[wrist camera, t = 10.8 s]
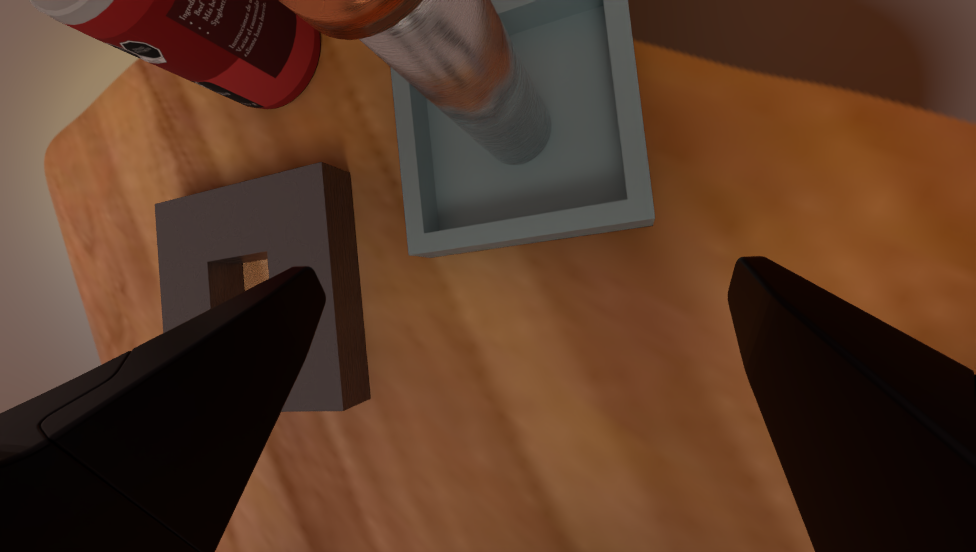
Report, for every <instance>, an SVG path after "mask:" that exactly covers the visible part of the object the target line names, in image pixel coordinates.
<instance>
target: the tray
mask: <svg viewBox="0 0 976 552" xmlns="http://www.w3.org/2000/svg"><path fill="white" fill-rule="evenodd" d="M491 2H492V4H493V6H494V8H495V10H496V12H497V14H498V16H499V17H500V19H501V21H502V23H503V25H504V27H505V29H506V31H507V33H508V35H509V37H510V39H511V41H512V43H513V45H514V47H515V49H516V51H517V52H518V54H519V56H520V58H521V60H522V62H523V64H524V66H525V68H526V70H527V72H528V74H529V76H530V78H531V80H532V82H533V84H534V86H535V87H536V89H537V91H538V93H539V95H540V97H541V99H542V101H543V103H544V105H545V107H546V109H547V111H548V113H549V115H550V119H551V134H550V138H549V140H548V143H547V144H546V146H545V148H544V149H543V151H542V152H541V153H540V154H539V155H538V156H537V157H535V158H534V159H532V160H531V161H529V162H526V163H523V164H519V165H510V164H505V163H502V162H500V161H499V160H497V159H496V158H495V157H493V156H492V155H491V154H490V153H489V152H488V151H487V150H485V149H484V148H483V147H482V146H481V145H480V144H479V143H477V142H476V141H475V140H474V139H473V138H472V137H471V136H469V135H468V134H467V133H466V132H465V131H464V130H462V129H461V128H460V127H459V126H458V125H457V124H456V123H454V122H453V121H452V120H451V119H450V118H449V117H448V116H446V115H445V114H444V113H443V112H442V111H441V110H440V109H438V108H437V107H436V106H435V105H434V104H433V103H432V102H430V101H429V100H428V99H427V98H426V97H425V96H424V95H422V94H421V93H420V92H419V91H418V90H417V89H415V88H414V87H413V86H412V85H411V84H410V83H409V82H407V81H406V80H405V79H404V78H403V77H402V76H401V75H399V74H398V73H397V72H396V71H395V70H394V69H393V68H391V77H392V88H393V98H394V108H395V119H396V129H397V139H398V150H399V160H400V170H401V181H402V191H403V201H404V212H405V222H406V232H407V243H408V253H409V255H411V256H420V257H429V258H432V257H439V256H446V255H453V254H460V253H467V252H474V251H481V250H488V249H495V248H501V247H508V246H515V245H522V244H529V243H536V242H543V241H550V240H557V239H564V238H571V237H578V236H585V235H591V234H598V233H605V232H612V231H619V230H626V229H633V228H640V227H647V226H653V223H654V220H655V213H654V205H653V197H652V189H651V181H650V173H649V165H648V157H647V150H646V142H645V134H644V126H643V118H642V110H641V102H640V94H639V86H638V78H637V70H636V62H635V54H634V46H633V38H632V31H631V22H630V14H629V6H628V0H491Z"/></svg>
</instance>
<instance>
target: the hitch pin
mask: <svg viewBox="0 0 976 552" xmlns="http://www.w3.org/2000/svg"><path fill="white" fill-rule="evenodd" d="M279 1H280V2H281V3H283V4H284V5H285V6H286V7H288V8H289V9H290V10H291V11H293V12H294V13H295V14H297V15H298V16H299V17H300V18H302V19H303V20H304V21H305V22H307V23H308V24H309V25H311V26H312V27H313V28H315V29H316V30H318V31H319V32H321V33H323V34H325V35H327V36H329V37H333V38H337V39H345V40H354V39H359V40H360V41H362V42H363V43H364V44H365V45H366V46H367V47H369V48H370V49H371V50H372V51H373V52H374V53H375V54H377V55H378V56H379V57H380V58H381V59H382V60H383V61H385V62H386V63H387V64H388V65H389V66H390V67H391V68H393V69H394V70H395V71H396V72H397V73H398V74H399V75H401V76H402V77H403V78H404V79H405V80H406V81H407V82H409V83H410V84H411V85H412V86H413V87H414V88H415V89H417V90H418V91H419V92H420V93H421V94H422V95H424V96H425V97H426V98H427V99H428V100H429V101H430V102H432V103H433V104H434V105H435V106H436V107H437V108H438V109H440V110H441V111H442V112H443V113H444V114H445V115H446V116H448V117H449V118H450V119H451V120H452V121H453V122H454V123H456V124H457V125H458V126H459V127H460V128H461V129H462V130H464V131H465V132H466V133H467V134H468V135H469V136H471V137H472V138H473V139H474V140H475V141H476V142H477V143H479V144H480V145H481V146H482V147H483V148H484V149H485V150H487V151H488V152H489V153H490V154H491V155H492V156H493V157H495V158H496V159H497V160H499V161H500V162H502V163H505V164H510V165H519V164H523V163H526V162H529V161H531V160H532V159H534V158H535V157H537V156H538V155H539V154H540V153H541V152H542V151H543V149H544V148H545V146H546V144H547V143H548V140H549V138H550V134H551V119H550V115H549V113H548V111H547V109H546V107H545V105H544V103H543V101H542V99H541V97H540V95H539V93H538V91H537V89H536V87H535V86H534V84H533V82H532V80H531V78H530V76H529V74H528V72H527V70H526V68H525V66H524V64H523V62H522V60H521V58H520V56H519V54H518V52H517V51H516V49H515V47H514V45H513V43H512V41H511V39H510V37H509V35H508V33H507V31H506V29H505V27H504V25H503V23H502V21H501V19H500V17H499V16H498V14H497V12H496V10H495V8H494V6H493V4H492V2H491V0H279Z"/></svg>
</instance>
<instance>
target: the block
mask: <svg viewBox="0 0 976 552" xmlns="http://www.w3.org/2000/svg"><path fill="white" fill-rule="evenodd" d="M155 216H156V231H157V245H158V260H159V275H160V289H161V304H162V318H163V333H165V332H167V331H169V330H171V329H173V328H175V327H176V326H178V325H180V324H182V323H184V322H186V321H188V320H190V319H192V318H194V317H196V316H198V315H200V314H202V313H204V312H206V311H208V310H209V309H211V308H213V307H215V306H217V305H219V304H221V303H223V302H225V301H227V300H229V299H231V298H233V297H235V296H237V295H239V294H241V293H242V292H244V282H243V269H242V263H246V262H252V261H258V260H264V259H268V268H269V279H270V278H272V277H274V276H276V275H277V274H279V273H281V272H283V271H285V270H287V269H289V268H291V267H294V266H309V267H312V268H313V269H314V271H315V272H316V275H317V277H318V279H319V281H320V283H321V285H322V287H323V289H324V292H325V295H326V303H325V306H324V309H323V312H322V315H321V318H320V321H319V324H318V326H317V329H316V332H315V335H314V338H313V341H312V344H311V346H310V349H309V352H308V354H307V357H306V360H305V362H304V364H303V366H302V368H301V371H300V373H299V375H298V377H297V379H296V381H295V383H294V385H293V388H292V390H291V392H290V394H289V396H288V398H287V400H286V402H285V404H284V407H283V409H282V411H281V412H286V411H344V410H346V409H349V408H351V407H353V406H355V405H358V404H360V403H362V402H364V401H366V400H369V399H370V389H369V378H368V367H367V356H366V345H365V334H364V323H363V312H362V301H361V290H360V279H359V268H358V257H357V246H356V235H355V224H354V213H353V202H352V191H351V180H350V173H349V172H347V171H344V170H341V169H339V168H336V167H333V166H331V165H328V164H326V163H323V162H319V163H315V164H311V165H307V166H303V167H299V168H295V169H291V170H288V171H284V172H280V173H276V174H272V175H268V176H264V177H260V178H256V179H252V180H248V181H244V182H240V183H236V184H232V185H228V186H224V187H220V188H217V189H213V190H209V191H205V192H201V193H197V194H193V195H189V196H185V197H181V198H177V199H173V200H169V201H165V202H161V203H157V204H155Z"/></svg>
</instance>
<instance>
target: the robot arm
mask: <svg viewBox="0 0 976 552" xmlns="http://www.w3.org/2000/svg"><path fill="white" fill-rule="evenodd" d="M325 303H326V295H325V292H324V289H323V287H322V285H321V283H320V281H319V279H318V277H317V275H316V272H315V271H314V269H313V268H312V267H309V266H294V267H291V268H289V269H287V270H285V271H283V272H281V273H279V274H277V275H276V276H274V277H272V278H270V279H268V280H266V281H264V282H262V283H260V284H258V285H256V286H254V287H252V288H250V289H248V290H246V291H244V292H242V293H241V294H239V295H237V296H235V297H233V298H231V299H229V300H227V301H225V302H223V303H221V304H219V305H217V306H215V307H213V308H211V309H209V310H208V311H206V312H204V313H202V314H200V315H198V316H196V317H194V318H192V319H190V320H188V321H186V322H184V323H182V324H180V325H178V326H176V327H175V328H173V329H171V330H169V331H167V332H165V333H163V334H161V335H159V336H157V337H155V338H153V339H151V340H149V341H147V342H145V343H143V344H142V345H140V346H138V347H136V348H134V349H133V350H132V351H128V352H126V353H124V354H122V355H120V356H118V357H116V358H114V359H112V360H110V361H108V362H106V363H104V364H102V365H100V366H98V367H96V368H94V369H93V370H91V371H88V372H87V373H84V374H82V375H81V376H79V377H76V378H75V379H72V380H70V381H68V382H66V383H64V384H62V385H60V386H58V387H56V388H54V389H51V390H49V391H47V392H45V393H43V394H41V395H39V396H37V397H35V398H32V399H30V400H28V401H26V402H24V403H22V404H20V405H17V406H15V407H13V408H11V409H9V410H7V411H5V412H3V413H0V552H215V550H216V548H217V546H218V544H219V542H220V540H221V538H222V535H223V533H224V531H225V529H226V527H227V525H228V523H229V521H230V518H231V516H232V514H233V512H234V510H235V508H236V506H237V504H238V502H239V499H240V497H241V495H242V493H243V491H244V489H245V487H246V485H247V483H248V480H249V478H250V476H251V474H252V472H253V470H254V468H255V466H256V464H257V461H258V459H259V457H260V455H261V453H262V451H263V449H264V447H265V445H266V442H267V440H268V438H269V436H270V434H271V432H272V430H273V428H274V426H275V423H276V421H277V419H278V417H279V415H280V413H281V411H282V409H283V407H284V404H285V402H286V400H287V398H288V396H289V394H290V392H291V390H292V388H293V385H294V383H295V381H296V379H297V377H298V375H299V373H300V371H301V368H302V366H303V364H304V362H305V360H306V357H307V354H308V352H309V349H310V346H311V344H312V341H313V338H314V335H315V332H316V329H317V326H318V324H319V321H320V318H321V315H322V312H323V309H324V306H325ZM728 303H729V308H730V312H731V316H732V320H733V324H734V328H735V332H736V336H737V341H738V345H739V349H740V353H741V357H742V361H743V365H744V368H745V371H746V374H747V377H748V380H749V383H750V385H751V388H752V390H753V393H754V396H755V398H756V401H757V403H758V406H759V408H760V411H761V414H762V416H763V419H764V421H765V424H766V426H767V429H768V432H769V434H770V437H771V439H772V442H773V444H774V447H775V450H776V452H777V455H778V457H779V460H780V463H781V465H782V468H783V470H784V473H785V475H786V478H787V481H788V483H789V486H790V488H791V491H792V493H793V496H794V499H795V501H796V504H797V506H798V509H799V511H800V514H801V517H802V519H803V522H804V524H805V527H806V529H807V532H808V535H809V537H810V540H811V542H812V545H813V547H814V550H815V552H976V374H975V375H974V372H973V370H971V369H969V368H968V367H966V366H964V365H962V364H960V363H958V362H957V361H955V360H953V359H951V358H949V357H947V356H946V355H944V354H942V353H940V352H938V351H936V350H935V349H933V348H931V347H929V346H927V345H925V344H924V343H922V342H920V341H918V340H916V339H914V338H913V337H911V336H909V335H907V334H905V333H903V332H902V331H900V330H898V329H896V328H894V327H892V326H891V325H889V324H887V323H885V322H883V321H881V320H880V319H878V318H876V317H874V316H872V315H870V314H869V313H867V312H865V311H863V310H861V309H859V308H858V307H856V306H854V305H852V304H850V303H848V302H847V301H845V300H843V299H841V298H839V297H837V296H836V295H834V294H832V293H830V292H828V291H826V290H825V289H823V288H821V287H819V286H817V285H815V284H814V283H812V282H810V281H808V280H806V279H804V278H803V277H801V276H799V275H797V274H795V273H793V272H792V271H790V270H788V269H786V268H784V267H782V266H781V265H779V264H777V263H775V262H773V261H771V260H770V259H768V258H766V257H762V256H753V257H741V258H739V259H738V260H737V262H736V264H735V268H734V271H733V275H732V279H731V282H730V286H729V290H728Z"/></svg>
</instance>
